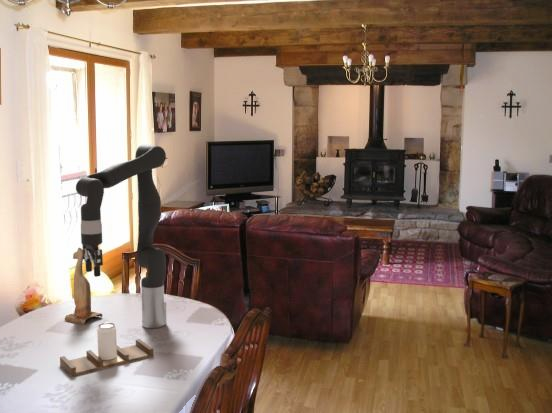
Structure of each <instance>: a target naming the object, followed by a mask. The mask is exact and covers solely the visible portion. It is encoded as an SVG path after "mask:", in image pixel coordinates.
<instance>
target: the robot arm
mask: <svg viewBox="0 0 552 413" xmlns="http://www.w3.org/2000/svg"><path fill="white" fill-rule="evenodd" d="M134 157H135V158H133V159H130V160H127V161H126V160H125V161H122V162H120V163H115V164H113V165H111V166H109V167H107V168H105V169H103V170H102V171H101V170H100V171H99V172H94V173H91V174H89V175H86V176H83V177H81V178H80V179H79V180H78V181H77V182H76V185H75V191H76V193H77V195H80V196H81V197H86V198H87V199H86V202H85V203H84V204H81V206H80V242H81V246H82V250H83V262H85V263H84V264H85V273H86V272H87V273H89V272H90V273H91V272H92V271H93V276H94V277H96V278H97V277H100V276H101V266H103V264H104V262H103V259H104V258H103V250H102V249H99V245H101V244H102V243H103V225H102V218H101V217H102V216H101V212H102V211H101V209H102V208H101V207H102V203H103V200H104V199H103V198H104V194H105V189H110V188H112V187H115V186H117V185H119V184H121V183H122V182H125V180H128V179H130V178H133V177H134V176H136V178H137V196H138V197H137V201H138V202H137V210H138V211H137V212H138V213H137V214H138V225H137V226H138V228H137V229H138V230H137V231H138V234H137V235H138V236H137V248H136V262H137V264H138V265H139V267H141V268H143V269H147V276H144V277H143V278H141V281H140V284H141V286H140V287H141V288H140V289H141V290H140V291H141V323H142V324H141V325H142V327H143V328H146V329H157V328H161V327H163V326H165V325H167V324H168V323H167V322H168V321H167V302H165V284H164V283H165V279H166V276H167V274H166V273H167V272H166V271H167V258H166V257H167V256H166V253H165V251H164V250H163V249H162V248H159V247H154V234H155V233H154V232H155V230H156V228H157V226H158V224H159V222H160V219H161V216H162V199H161V195H160V193H159V190H158V188H157V186H156V184H155V183H154V178H153V170H155V169H157V168H160V167H161V166H163V165H164V163H165V162H166V160H167V154H166V151H165V149H164V148H163V147H162V146H159V145H156V144H141V145H139V146H138V147H137V149H136V151H135V156H134Z"/></svg>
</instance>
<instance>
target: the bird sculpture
mask: <svg viewBox="0 0 552 413" xmlns="http://www.w3.org/2000/svg"><path fill="white" fill-rule="evenodd" d="M72 259H73V260H77V261H76V263H75V269H74V275H73V300H74V301H73V302H74V305H75V308H74V311H73V313H70V314H67V315H65V317H64V321H65V322H69V323H74V324H77V325H84V326H85V323H86V321H87V320H88V319H90V318H92V317H101V318H103V313H101V312H96V311H92V291H91V284H90V282H89V280H88V279H87V278H86V276H84V274H83V273H84V272H83V264H84V259H83V248H81V247H78V248H77V250H76V251H75V252H74V253H73V255H72Z"/></svg>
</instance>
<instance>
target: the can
mask: <svg viewBox="0 0 552 413" xmlns="http://www.w3.org/2000/svg"><path fill="white" fill-rule="evenodd" d="M117 341H118V340H117V327H116V325H115V323H113V322H104V323H103V322H102V323H100V324H99V325H98V328H97V353H98V357H99V358H100V359H102V360H103V361H108V360H113V359H115V358H116V356H117V346H118V345H117Z"/></svg>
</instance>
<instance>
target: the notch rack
mask: <svg viewBox="0 0 552 413" xmlns="http://www.w3.org/2000/svg"><path fill="white" fill-rule="evenodd" d="M85 351H86V356H81V357H77V358H72V359H68V358H67V357H66V356H65V355H63V356H60V357H59V364H60V367H62V369H64V370H65V371H66V373H67V374H68V375H69V376H70V377H76V376H80V375H84V374H88V373H93V372H97V371H100V370H101V371H102V370H105V369H108V368H113V367H116V366H117V367H118V366H121V365H125V364H129V363H132V362H136V361H140V360H145V359H149V358H153V357H154V348H153V347H152V346H150V345H149V344H147V343H146V342H145V341H143V340H142V339H140V338H137V339H135V344H133V345H128V346H125V347H124V346H123V347H120V346H119V345H117V356H116V358H115V359H113V360H108V361H103V360H102V359H100V358H99V357H98V352H97V353H95V352H93V351H92V350H91V349H90V350H85Z"/></svg>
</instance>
